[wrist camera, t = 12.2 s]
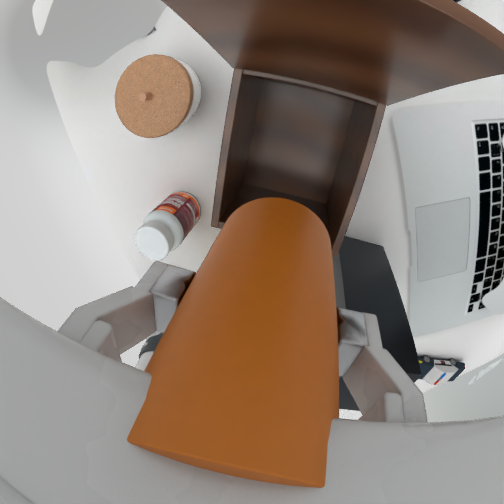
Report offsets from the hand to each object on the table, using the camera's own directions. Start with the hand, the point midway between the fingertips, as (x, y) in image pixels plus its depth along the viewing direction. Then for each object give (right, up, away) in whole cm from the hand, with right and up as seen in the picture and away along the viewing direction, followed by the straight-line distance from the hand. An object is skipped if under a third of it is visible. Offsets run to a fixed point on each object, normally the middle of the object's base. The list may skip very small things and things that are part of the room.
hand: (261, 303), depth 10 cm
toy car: (+43, -24, +44) cm, 66 cm away
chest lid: (+3, +13, +3) cm, 13 cm away
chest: (+6, +17, +26) cm, 32 cm away
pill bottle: (-11, +9, +35) cm, 38 cm away
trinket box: (-11, +24, +25) cm, 37 cm away
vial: (+1, +2, +3) cm, 4 cm away
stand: (+16, 0, +34) cm, 38 cm away
